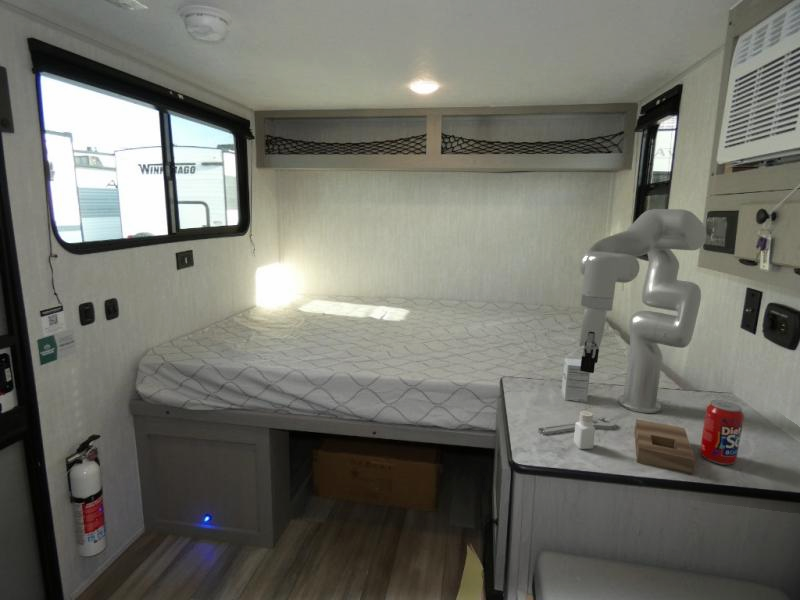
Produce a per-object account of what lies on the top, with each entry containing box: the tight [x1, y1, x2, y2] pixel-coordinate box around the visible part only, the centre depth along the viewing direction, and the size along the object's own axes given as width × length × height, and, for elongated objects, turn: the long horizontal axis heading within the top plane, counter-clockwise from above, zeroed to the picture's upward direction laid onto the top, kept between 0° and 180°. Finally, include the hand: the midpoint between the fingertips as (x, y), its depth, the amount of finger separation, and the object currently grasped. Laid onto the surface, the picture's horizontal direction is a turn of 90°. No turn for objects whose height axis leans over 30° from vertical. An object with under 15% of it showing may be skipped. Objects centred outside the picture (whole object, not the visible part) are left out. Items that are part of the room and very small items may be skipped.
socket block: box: [634, 419, 695, 475], centre depth 121 cm, size 18×12×4 cm, turn 155°
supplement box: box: [561, 357, 591, 403], centre depth 155 cm, size 7×7×13 cm
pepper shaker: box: [573, 410, 596, 450], centre depth 123 cm, size 4×4×10 cm
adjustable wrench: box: [537, 415, 617, 436], centre depth 134 cm, size 25×6×2 cm, turn 102°
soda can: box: [699, 399, 745, 466], centre depth 117 cm, size 8×8×15 cm
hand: (588, 366), depth 120 cm, fingers open, 9 cm apart
